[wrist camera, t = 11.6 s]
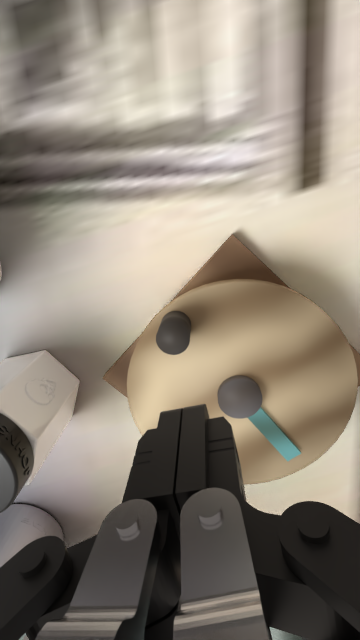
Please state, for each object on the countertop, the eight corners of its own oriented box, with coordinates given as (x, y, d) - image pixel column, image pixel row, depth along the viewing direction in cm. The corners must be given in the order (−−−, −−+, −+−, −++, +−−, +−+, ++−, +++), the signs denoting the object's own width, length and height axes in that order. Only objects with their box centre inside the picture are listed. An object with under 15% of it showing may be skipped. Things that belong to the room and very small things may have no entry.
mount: (236, 475, 36) (238, 496, 34) (105, 373, 34) (97, 387, 31) (372, 366, 31) (387, 380, 29) (232, 234, 28) (234, 236, 26)
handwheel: (393, 400, 29) (426, 433, 25) (220, 503, 34) (223, 545, 30) (259, 227, 25) (270, 232, 21) (86, 371, 30) (67, 398, 26)
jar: (98, 393, 34) (46, 485, 23) (49, 436, 37) (-21, 540, 25) (30, 332, 33) (-63, 399, 21) (-17, 381, 35) (-124, 466, 24)
